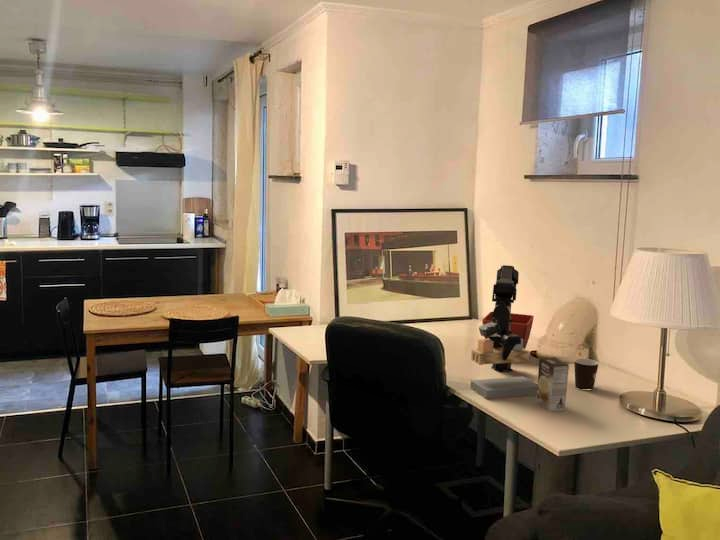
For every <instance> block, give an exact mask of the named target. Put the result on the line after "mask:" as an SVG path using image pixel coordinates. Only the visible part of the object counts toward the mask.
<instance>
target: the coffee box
mask: <svg viewBox="0 0 720 540" xmlns="http://www.w3.org/2000/svg"><path fill="white" fill-rule="evenodd" d="M569 367H570V365H569V364H568V363H567V362H565V361H562V360H561V359H559V358H557V357H556V356H553V357H540V358H539V361H538V374H537V384H538V385H537V395H536V397H535V399H536V401H535V402H536V403H537V404H538V405H539V406H540V407H542V408H544V409H545V410H546V411H548V412H557V411H565V410H566V404H567V403H566V401H567V391H568V389H567V388H568V379H569V378H568V377H569Z"/></svg>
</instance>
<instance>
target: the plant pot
mask: <svg viewBox="0 0 720 540" xmlns="http://www.w3.org/2000/svg"><path fill="white" fill-rule="evenodd" d="M492 318H494V316H493V311H490V312H489V313H488V314H487V315H485V317H483V318H482V319H481V320H482V321H481V322H482V325H484V324H487V323H490V322H491V319H492ZM510 319H512V320H513V322H512V323H510V330H511V331H512V334H516V335H518V336H520V337H521V339H523V348H524V349H526V347H527V345H528V343H529V340H530V339H529V338H530V335H531V332H532V327H533V323H534V315H531V314H522V313H521V314H520V313H513V312H511V316H510ZM484 339H488V338H485V337H484Z"/></svg>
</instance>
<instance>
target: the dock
mask: <svg viewBox="0 0 720 540" xmlns="http://www.w3.org/2000/svg"><path fill="white" fill-rule="evenodd" d="M537 385H538V383H536V382H534V381H533V380H531V379H529V378H528V377H526V376H523V375H522V376H512V377H501V378H500V377H499V378H496V377H495V378H486V379H473V380H470V389H471V390H472V389H473V390H472V391H473V392H475V391H476V392H475V393H477V394H478V395H480V396H481V397H483V398H484V399H486V400H491V399H502V398H513V397H524V396H534V395H535V396H537Z"/></svg>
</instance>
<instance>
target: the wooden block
mask: <svg viewBox="0 0 720 540" xmlns="http://www.w3.org/2000/svg"><path fill="white" fill-rule="evenodd" d="M470 354H471V355H470V356H471V357H470V360H471V361H473V362H474V363H477V365H480V366H481V365H493V364H497V363H511V364H512V363H526V362H529V354H530V352H529V350H527V349H526V348H525V349H524V348H523V350H521V351H511V353H510V354H509V356H508V358H507V359H506V360H503V352H502V348H493V352H486V353H483V352H481V351H479V350H478V348H471V353H470Z"/></svg>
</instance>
